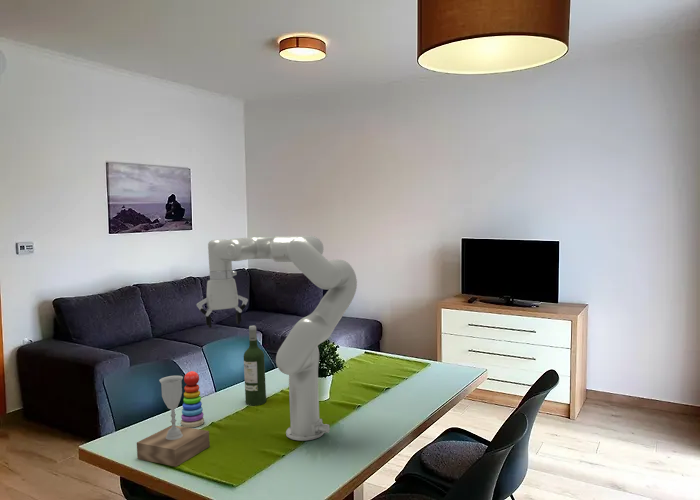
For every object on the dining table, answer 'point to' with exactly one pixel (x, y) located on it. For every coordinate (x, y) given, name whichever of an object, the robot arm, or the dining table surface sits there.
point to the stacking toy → (192, 402)
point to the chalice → (172, 401)
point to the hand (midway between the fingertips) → (224, 325)
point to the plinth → (173, 446)
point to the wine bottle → (254, 371)
